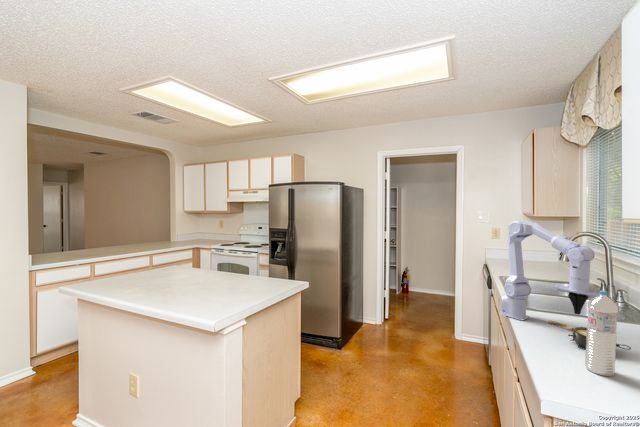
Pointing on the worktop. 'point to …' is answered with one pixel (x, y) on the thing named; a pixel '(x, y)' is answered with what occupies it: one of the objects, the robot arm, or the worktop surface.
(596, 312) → the water bottle
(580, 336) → the alarm clock
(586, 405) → the worktop surface
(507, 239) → the robot arm
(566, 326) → the turner
